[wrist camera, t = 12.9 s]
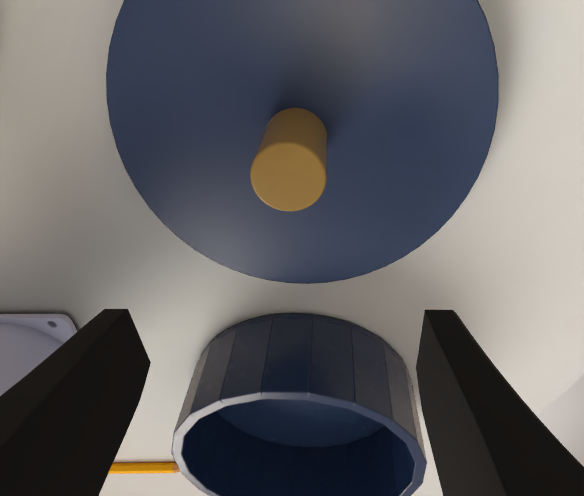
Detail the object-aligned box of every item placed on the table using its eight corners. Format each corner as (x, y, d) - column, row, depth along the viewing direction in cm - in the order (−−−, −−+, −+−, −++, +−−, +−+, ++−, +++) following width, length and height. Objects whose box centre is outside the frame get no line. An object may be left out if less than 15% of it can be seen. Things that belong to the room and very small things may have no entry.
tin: (218, 442, 31) (201, 516, 27) (173, 313, 23) (140, 389, 19) (402, 449, 29) (413, 528, 25) (421, 312, 22) (441, 395, 18)
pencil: (48, 462, 35) (44, 470, 35) (193, 460, 33) (191, 468, 33) (53, 467, 36) (48, 475, 35) (197, 465, 34) (194, 473, 33)
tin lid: (170, 271, 21) (137, 337, 18) (56, -81, 13) (-50, -94, 9) (457, 267, 20) (485, 338, 16) (535, -138, 11) (629, -179, 8)
